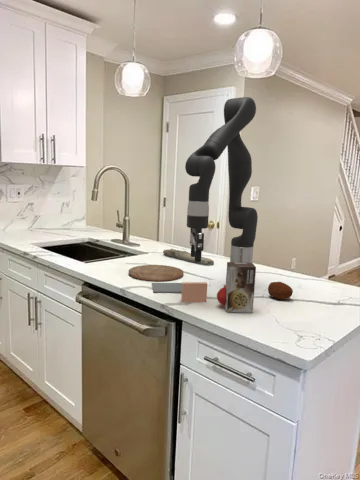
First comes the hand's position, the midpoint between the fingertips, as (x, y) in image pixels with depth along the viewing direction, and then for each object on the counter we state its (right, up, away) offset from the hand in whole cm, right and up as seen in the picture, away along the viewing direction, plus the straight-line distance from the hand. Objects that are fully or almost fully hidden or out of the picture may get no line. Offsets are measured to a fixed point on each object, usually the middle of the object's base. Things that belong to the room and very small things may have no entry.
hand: (195, 259), depth 137 cm
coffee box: (+14, -17, -4) cm, 23 cm away
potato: (+33, -16, +10) cm, 38 cm away
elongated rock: (-2, -4, +72) cm, 72 cm away
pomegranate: (+10, -17, -2) cm, 20 cm away
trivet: (-17, -9, +38) cm, 43 cm away
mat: (-8, -13, +17) cm, 23 cm away
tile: (-1, -16, +3) cm, 16 cm away
